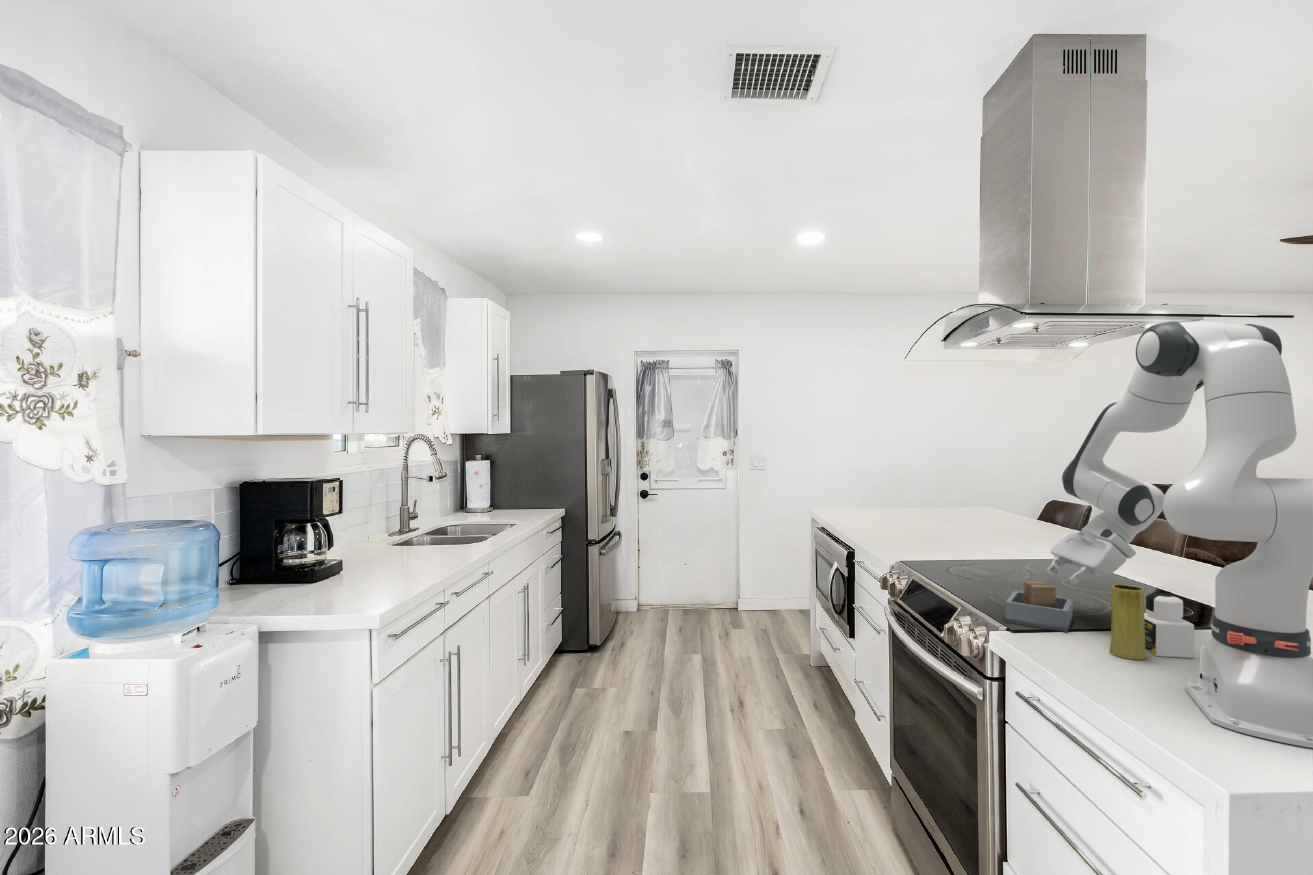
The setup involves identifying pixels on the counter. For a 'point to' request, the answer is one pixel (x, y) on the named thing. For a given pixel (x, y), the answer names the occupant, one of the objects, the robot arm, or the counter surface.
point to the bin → (1039, 613)
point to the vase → (1128, 622)
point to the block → (1039, 594)
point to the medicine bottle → (1167, 627)
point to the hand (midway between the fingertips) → (1060, 577)
